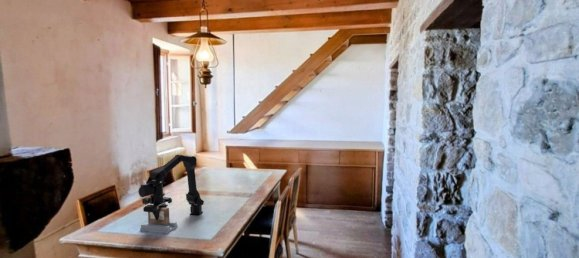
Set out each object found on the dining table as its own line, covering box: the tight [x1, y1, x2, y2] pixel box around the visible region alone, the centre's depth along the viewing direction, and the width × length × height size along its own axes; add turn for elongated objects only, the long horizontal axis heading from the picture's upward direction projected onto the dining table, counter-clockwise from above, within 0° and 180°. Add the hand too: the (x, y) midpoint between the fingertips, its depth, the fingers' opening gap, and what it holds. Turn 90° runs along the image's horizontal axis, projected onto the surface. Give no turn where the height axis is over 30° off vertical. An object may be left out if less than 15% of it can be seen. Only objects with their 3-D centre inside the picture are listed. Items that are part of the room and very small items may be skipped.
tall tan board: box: [147, 207, 171, 225], centre depth 185 cm, size 12×3×9 cm, turn 76°
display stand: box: [139, 220, 179, 234], centre depth 185 cm, size 18×10×3 cm, turn 76°
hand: (158, 218), depth 185 cm, fingers closed on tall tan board, 3 cm apart
